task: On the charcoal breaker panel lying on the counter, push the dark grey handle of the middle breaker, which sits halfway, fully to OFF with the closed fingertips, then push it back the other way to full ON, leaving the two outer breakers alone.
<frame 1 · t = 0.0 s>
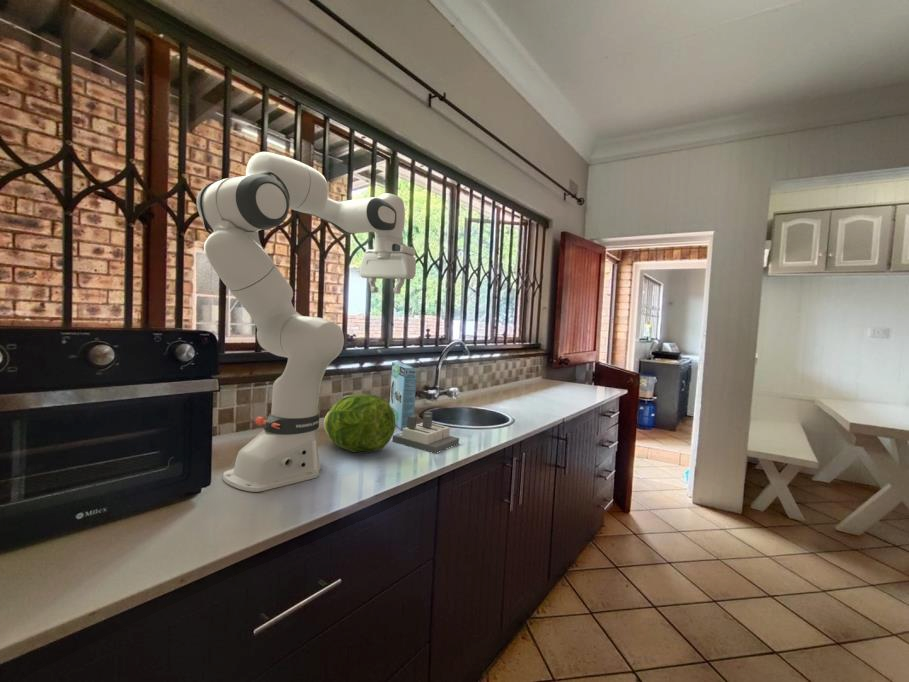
hand: (385, 293, 127), 48 cm above the countertop, tool pointing down, fingers open, 8 cm apart
breaker 1: (411, 421, 131), point 7 cm above the countertop, slide at 3.0 cm
breaker 2: (427, 417, 139), point 7 cm above the countertop, slide at 3.0 cm
lettuce: (354, 449, 122), on the countertop
gum box: (399, 424, 156), on the countertop
canned food: (352, 432, 140), on the countertop
breaker panel: (425, 442, 134), on the countertop
breaker tripped: (427, 421, 134), point 7 cm above the countertop, slide at 0.0 cm
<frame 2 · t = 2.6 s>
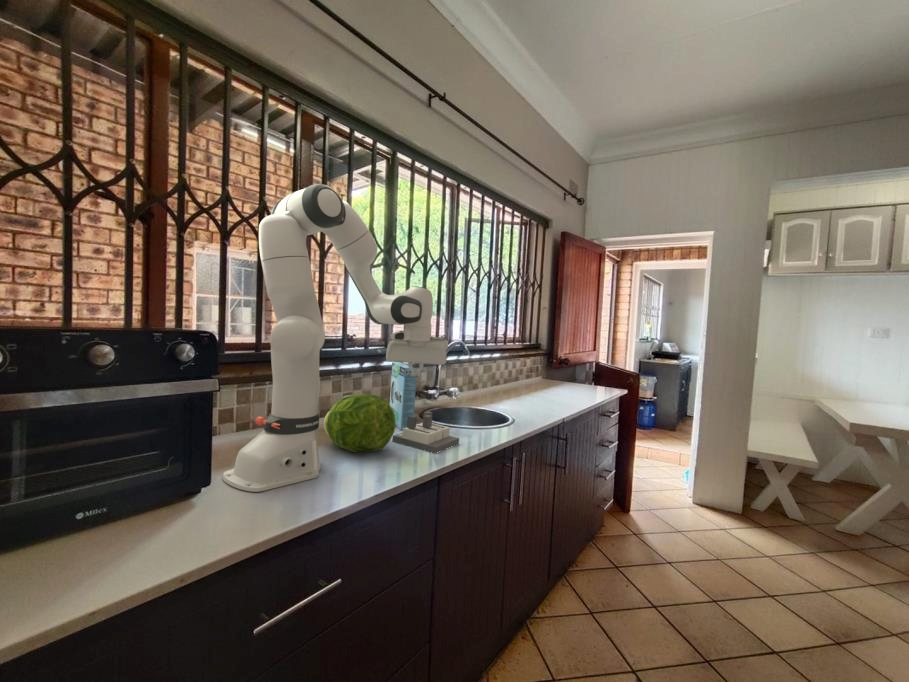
hand: (415, 376, 136), 21 cm above the countertop, tool pointing down, fingers closed
nothing on the countertop moved.
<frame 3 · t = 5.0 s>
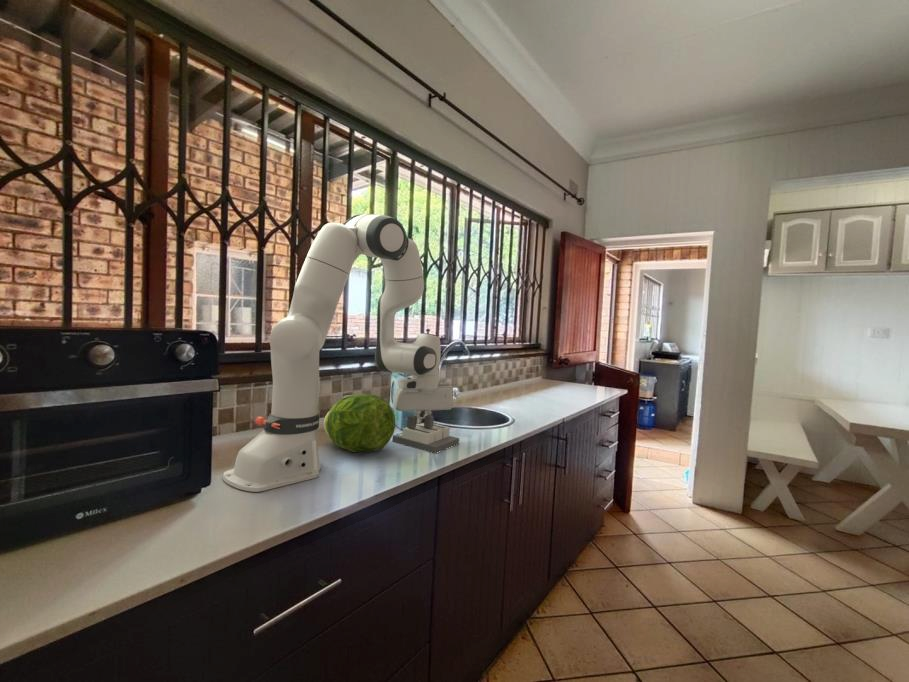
hand: (422, 423, 135), 6 cm above the countertop, tool pointing down, fingers closed
breaker tripped: (428, 421, 133), point 7 cm above the countertop, slide at -0.6 cm, touching gripper
everything else where it was.
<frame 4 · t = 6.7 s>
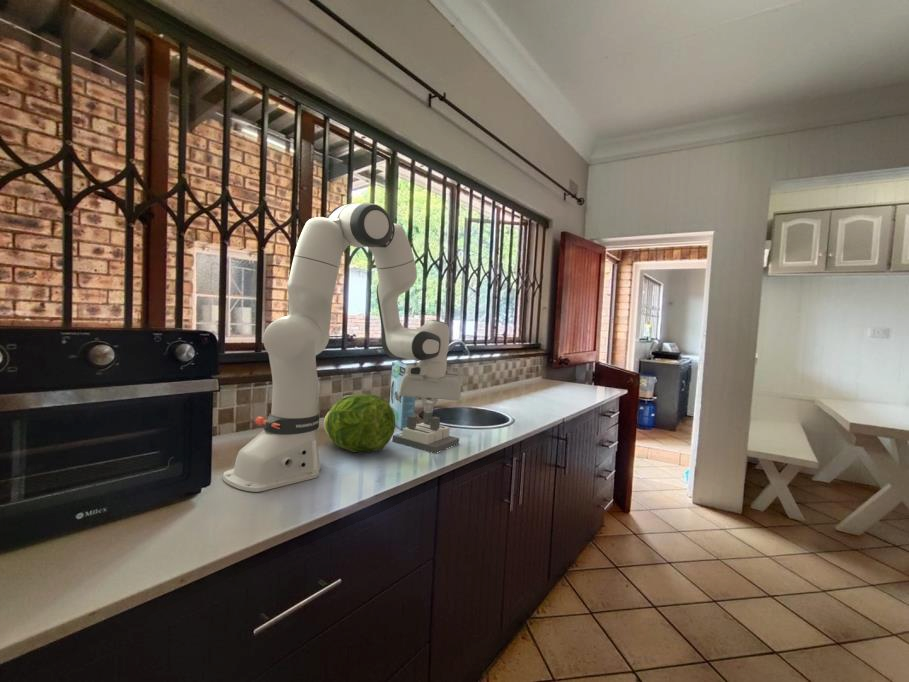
hand: (428, 411, 133), 11 cm above the countertop, tool pointing down, fingers closed
breaker tripped: (435, 423, 132), point 7 cm above the countertop, slide at -3.1 cm
everything else where it was.
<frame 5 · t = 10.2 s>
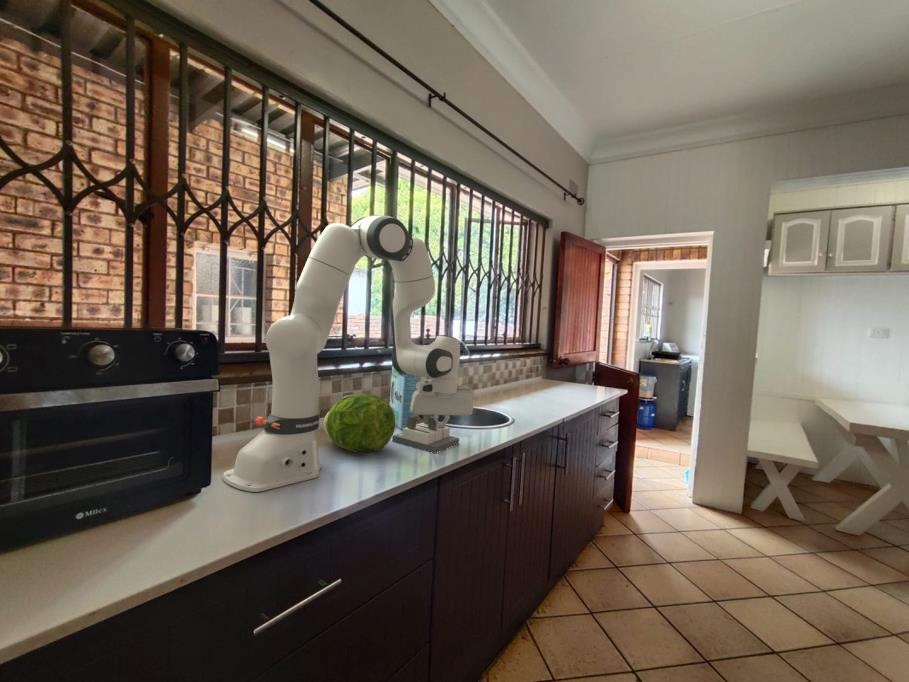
hand: (440, 428, 131), 6 cm above the countertop, tool pointing down, fingers closed
breaker tripped: (432, 422, 132), point 7 cm above the countertop, slide at -2.2 cm, touching gripper
everything else where it was.
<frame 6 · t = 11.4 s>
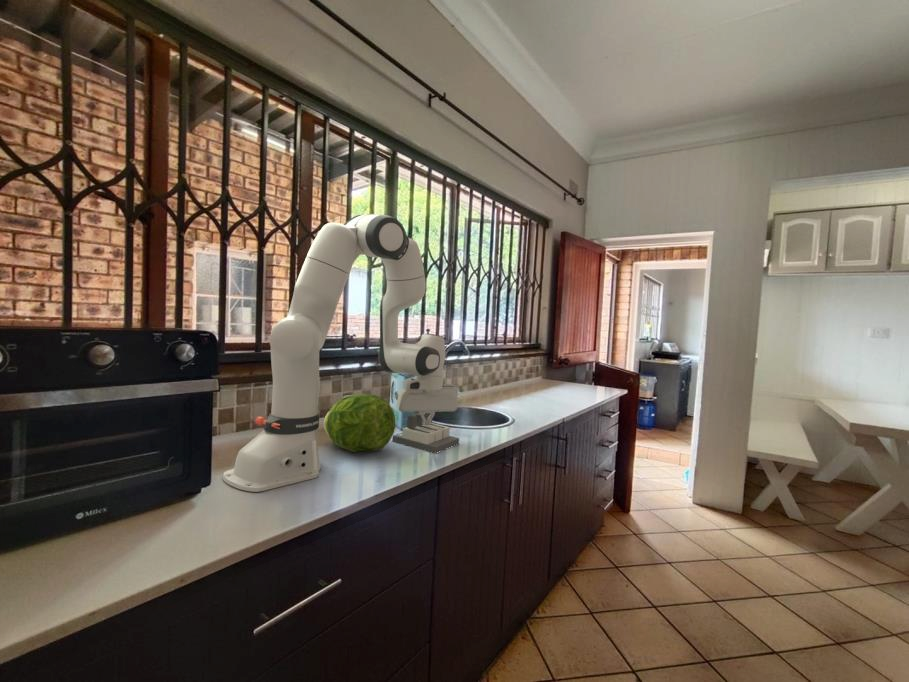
hand: (426, 424, 134), 6 cm above the countertop, tool pointing down, fingers closed
breaker tripped: (419, 419, 135), point 7 cm above the countertop, slide at 3.2 cm, touching gripper
everything else where it was.
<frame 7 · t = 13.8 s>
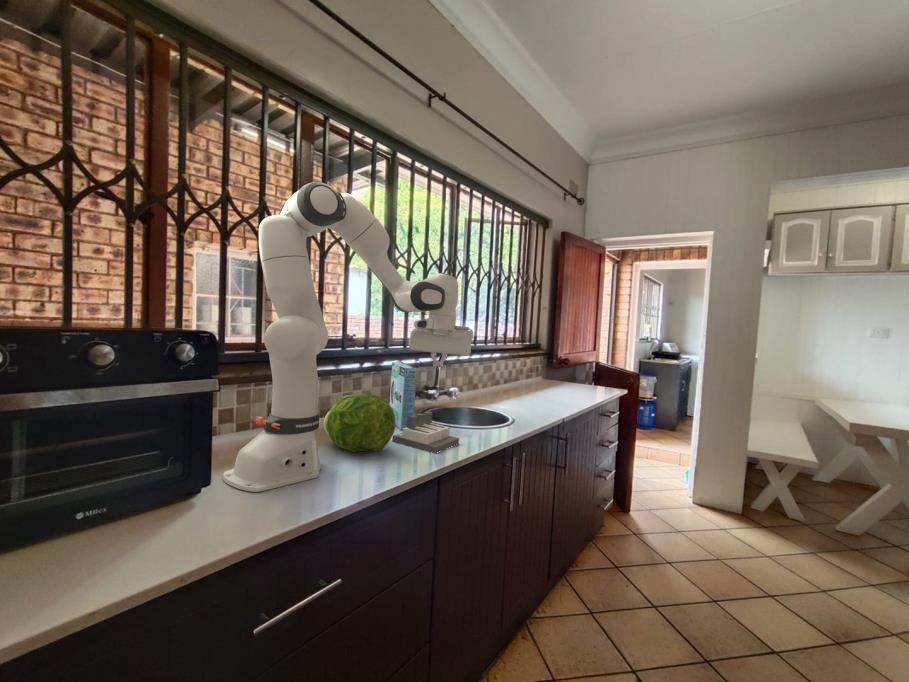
hand: (438, 366, 131), 26 cm above the countertop, tool pointing down, fingers closed
breaker tripped: (419, 419, 135), point 7 cm above the countertop, slide at 3.1 cm
everything else where it was.
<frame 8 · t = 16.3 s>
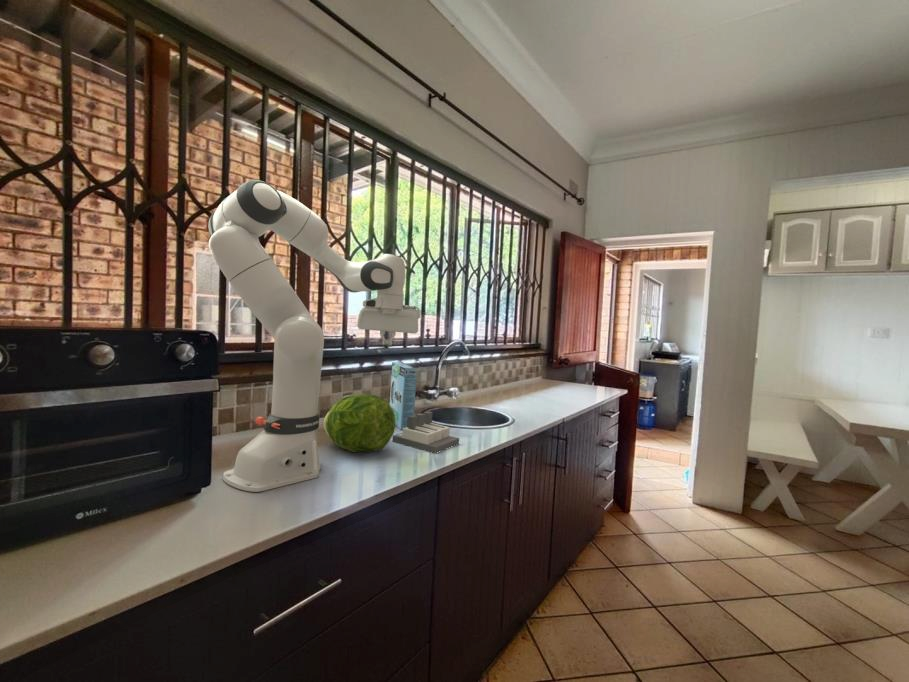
hand: (387, 344, 136), 31 cm above the countertop, tool pointing down, fingers closed
nothing on the countertop moved.
at the end: breaker tripped slide at 3.1 cm; breaker 1 slide at 3.0 cm; breaker 2 slide at 3.0 cm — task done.
